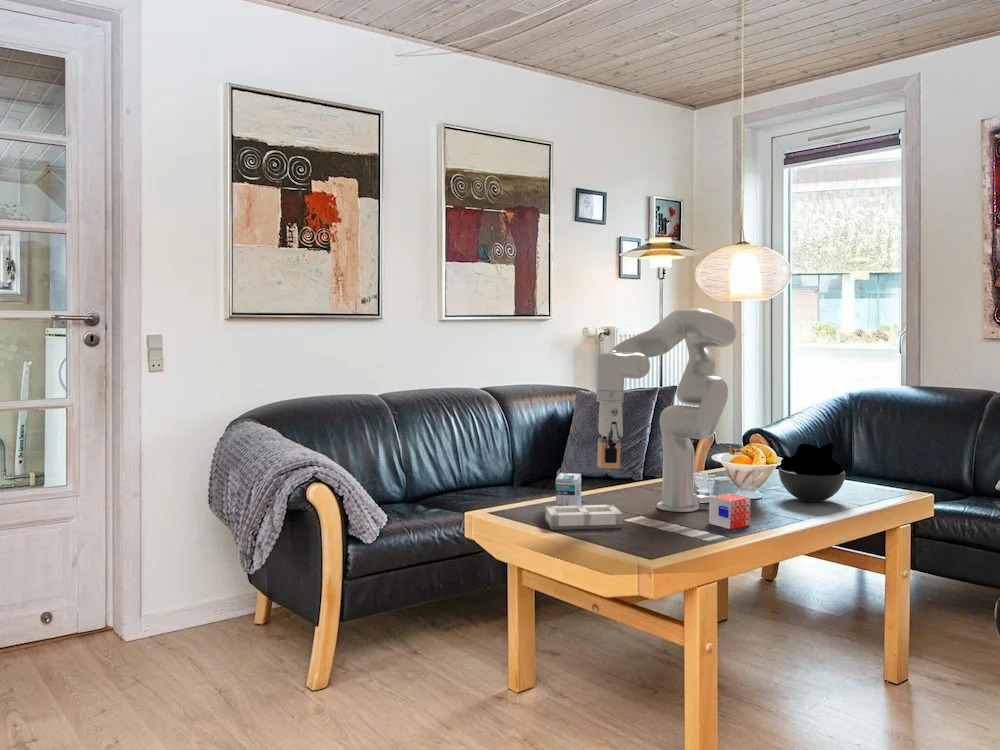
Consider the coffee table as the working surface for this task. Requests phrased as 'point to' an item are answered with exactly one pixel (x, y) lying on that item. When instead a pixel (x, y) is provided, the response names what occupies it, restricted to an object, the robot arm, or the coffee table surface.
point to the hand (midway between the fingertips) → (608, 460)
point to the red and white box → (729, 510)
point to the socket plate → (583, 517)
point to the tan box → (601, 454)
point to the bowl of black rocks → (811, 473)
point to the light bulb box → (568, 489)
